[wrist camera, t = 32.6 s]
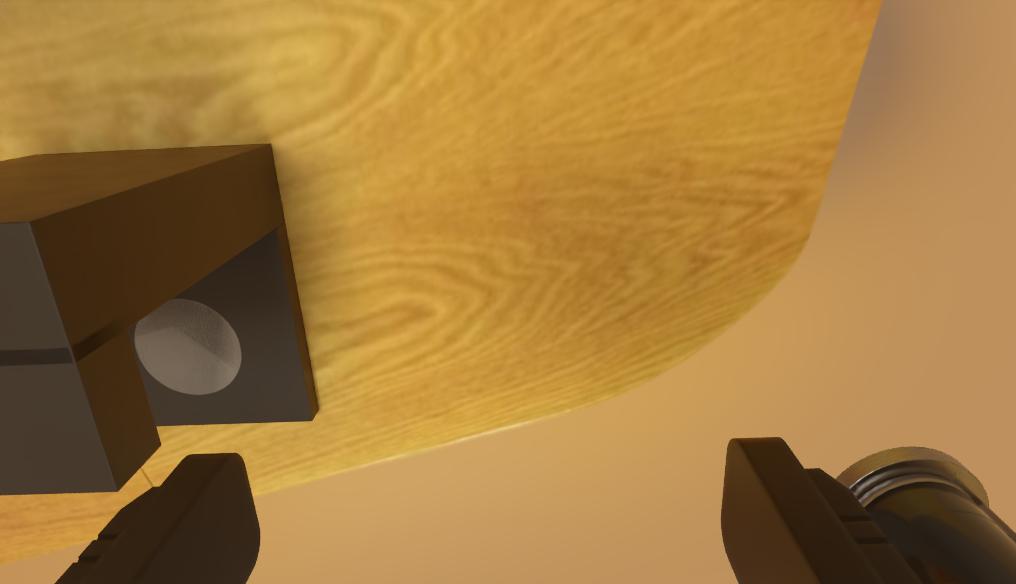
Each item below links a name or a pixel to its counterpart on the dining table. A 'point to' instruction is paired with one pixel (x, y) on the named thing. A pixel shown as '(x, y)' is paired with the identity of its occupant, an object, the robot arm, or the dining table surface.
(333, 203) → the dining table surface
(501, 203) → the dining table surface
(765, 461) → the robot arm
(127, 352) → the coffee maker
